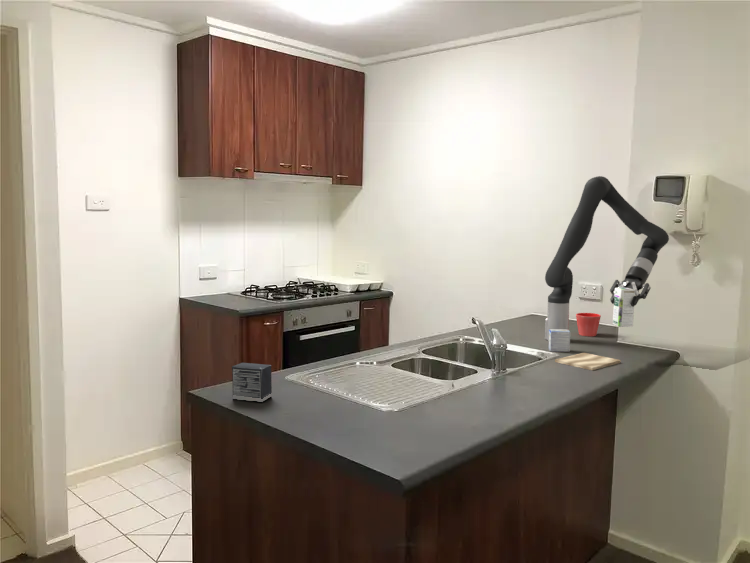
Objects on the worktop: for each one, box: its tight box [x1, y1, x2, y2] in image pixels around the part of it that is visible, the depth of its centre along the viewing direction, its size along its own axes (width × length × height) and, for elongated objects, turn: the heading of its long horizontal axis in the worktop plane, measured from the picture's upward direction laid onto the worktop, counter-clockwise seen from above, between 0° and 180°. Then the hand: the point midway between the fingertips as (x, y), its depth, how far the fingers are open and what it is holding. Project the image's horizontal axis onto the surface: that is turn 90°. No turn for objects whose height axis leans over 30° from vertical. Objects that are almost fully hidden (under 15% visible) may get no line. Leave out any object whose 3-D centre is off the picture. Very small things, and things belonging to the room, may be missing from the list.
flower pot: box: [575, 312, 601, 337], centre depth 288 cm, size 11×11×10 cm
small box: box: [231, 362, 273, 399], centre depth 188 cm, size 11×6×10 cm, turn 71°
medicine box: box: [548, 329, 571, 353], centre depth 255 cm, size 8×4×9 cm, turn 84°
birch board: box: [554, 352, 622, 371], centre depth 235 cm, size 16×19×1 cm
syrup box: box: [612, 287, 636, 328], centre depth 237 cm, size 6×6×14 cm
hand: (621, 303), depth 236 cm, fingers closed on syrup box, 7 cm apart
